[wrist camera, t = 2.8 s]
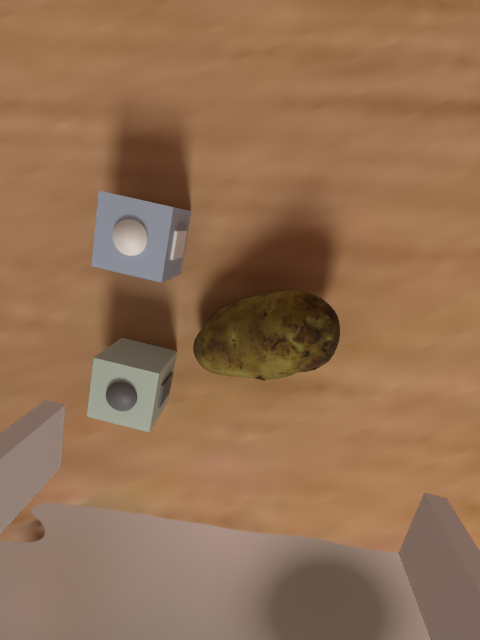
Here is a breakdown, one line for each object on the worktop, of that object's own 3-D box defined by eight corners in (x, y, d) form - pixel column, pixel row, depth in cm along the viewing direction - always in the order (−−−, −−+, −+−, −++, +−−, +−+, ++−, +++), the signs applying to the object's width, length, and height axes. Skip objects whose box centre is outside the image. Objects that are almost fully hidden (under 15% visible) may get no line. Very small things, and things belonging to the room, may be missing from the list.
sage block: (170, 401, 38) (150, 434, 32) (115, 388, 38) (85, 418, 32) (179, 351, 37) (160, 375, 31) (122, 337, 37) (91, 358, 31)
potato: (198, 280, 34) (176, 295, 27) (332, 283, 33) (349, 300, 26) (199, 360, 37) (179, 395, 29) (325, 365, 35) (340, 404, 28)
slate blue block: (183, 274, 34) (163, 283, 28) (122, 259, 35) (89, 266, 29) (193, 211, 33) (175, 207, 27) (129, 197, 33) (97, 190, 27)
